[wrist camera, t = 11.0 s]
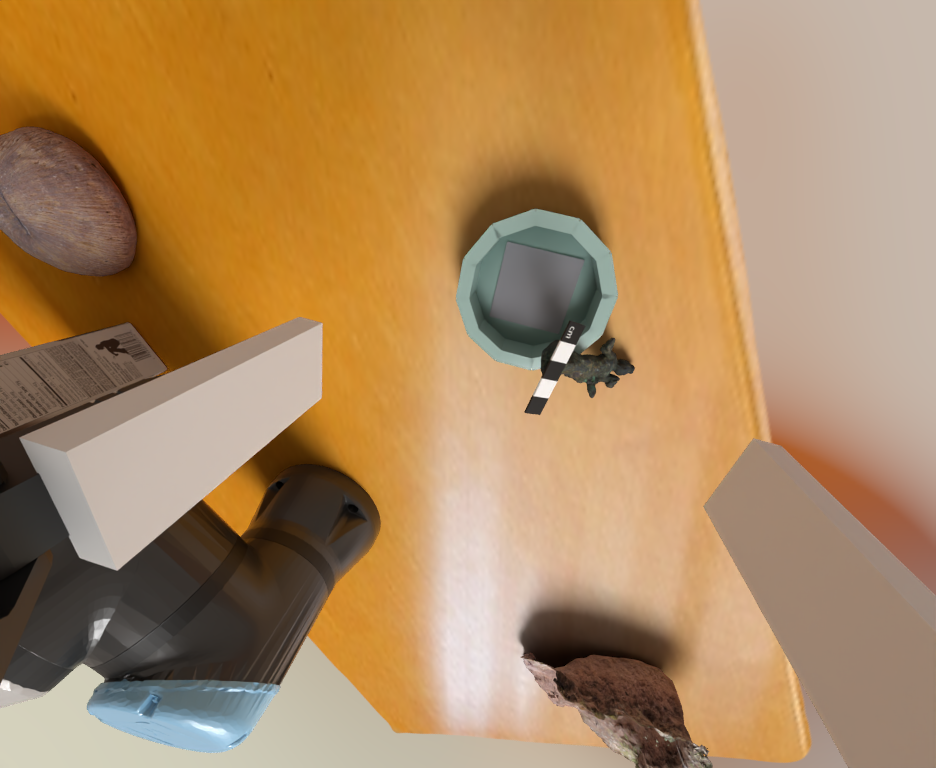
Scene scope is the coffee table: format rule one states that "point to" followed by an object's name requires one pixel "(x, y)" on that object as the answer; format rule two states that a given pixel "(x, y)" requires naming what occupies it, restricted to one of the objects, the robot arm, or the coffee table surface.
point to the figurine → (575, 366)
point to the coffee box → (71, 374)
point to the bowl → (535, 286)
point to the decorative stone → (63, 204)
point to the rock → (624, 708)
